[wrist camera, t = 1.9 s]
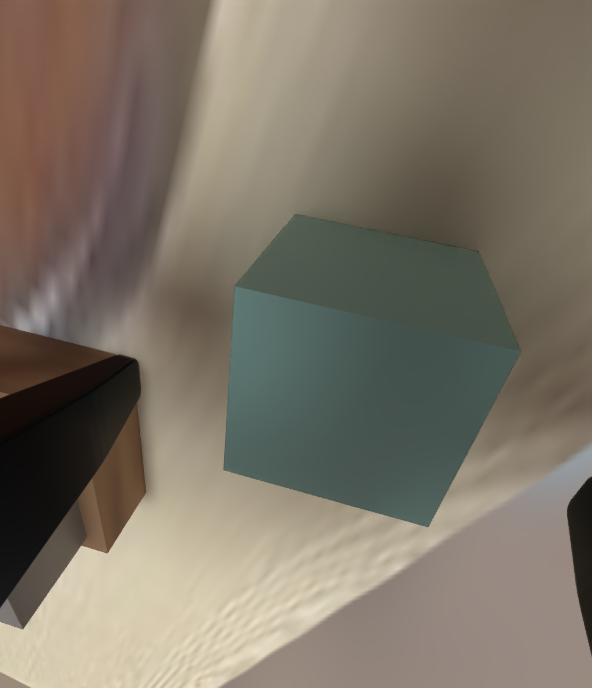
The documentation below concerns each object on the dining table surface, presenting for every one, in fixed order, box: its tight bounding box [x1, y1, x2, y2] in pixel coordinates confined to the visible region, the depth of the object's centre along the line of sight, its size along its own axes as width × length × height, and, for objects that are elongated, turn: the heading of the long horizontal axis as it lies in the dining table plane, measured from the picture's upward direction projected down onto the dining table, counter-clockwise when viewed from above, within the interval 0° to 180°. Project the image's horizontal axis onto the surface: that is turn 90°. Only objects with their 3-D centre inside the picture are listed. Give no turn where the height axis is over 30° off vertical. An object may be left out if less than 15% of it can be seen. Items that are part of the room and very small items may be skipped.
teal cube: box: [224, 214, 521, 527], centre depth 11 cm, size 5×5×5 cm
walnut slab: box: [0, 325, 146, 553], centre depth 17 cm, size 8×8×4 cm
